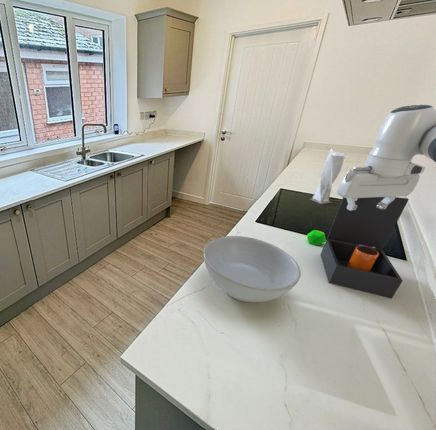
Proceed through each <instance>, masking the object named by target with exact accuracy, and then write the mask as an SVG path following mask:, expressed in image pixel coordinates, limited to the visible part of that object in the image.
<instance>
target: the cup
mask: <svg viewBox="0 0 436 430" xmlns="http://www.w3.org/2000/svg"><path fill="white" fill-rule="evenodd" d="M378 255H379V253H378V252H377V251H376V250H374V249H372V248H370V247H366V246H357V247H356V248H355V250H354V252H353V254H352V256H351V258H350V260H349V262H348V265H347V267H349V268H353V269H358V270H362V271H367V272H370V270H371V268H372V267H373V265H374V263H375V261H376V259H377V257H378Z"/></svg>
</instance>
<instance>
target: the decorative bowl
mask: <svg viewBox="0 0 436 430" xmlns="http://www.w3.org/2000/svg"><path fill="white" fill-rule="evenodd" d="M203 261H204V265H205V268H206V271H207V273H208V275H209V276H210V278H211V280H212V281H213V282H214V283H215V285H216V286H217V287H218V288H219V289H221V290H222V291H223V292H224V293H226V295H228V296H229V297H231V298H232V299H234V300H237V301H240V302H243V303H261V302H262V303H263V302H269V301H272V300H275V299H278V298H280V297H282V296H284V295H285V294H287V293H289V292H290V291H291V290H293V288H294V287H295V286H296V285H297V284H298V283H299V281H300V279H301V276H302V272H301V268H300V266H299V264H298V262H297V261H296V260H295V259H294V258H293V257H292V256H291V255H290V254H289V253H288V252H287V251H285V250H283V249H281V248H280V247H278V246H276V245H275V244H272V243H269V242H267V241H264V240H262V239H258V238H254V237H248V236H241V235H227V236H220V237H217V238H214V239H212V240H209V242H207V244H206V245H205V246H204V248H203Z"/></svg>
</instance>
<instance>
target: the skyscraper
mask: <svg viewBox="0 0 436 430" xmlns="http://www.w3.org/2000/svg"><path fill="white" fill-rule="evenodd" d="M345 157H346V155H345V152H342V153H341V152H339V151H337V152H336V151H334V150H333V147H331V148H330V150H329V153H328V155H327V157H326V159H325V161H324V164H323V167H322V169H321V173H320V179H319V184H318V186H317V188H316V190H315V192H314V193H313V196H312V198H309V200H310V201H312V202H314V203H317V204H320V205H327V204H331V203H332V201H331V200H330V198H331V197H330V196H331V194H332V193H331V192H332V187H333V184H334V183H335V181H336V180H337V178H338V177H339V175H340V173H341V170H342V167H343V165H344V161H345Z"/></svg>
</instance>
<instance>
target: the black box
mask: <svg viewBox="0 0 436 430" xmlns="http://www.w3.org/2000/svg"><path fill="white" fill-rule="evenodd" d="M357 246H361V245H359V244H355V243H349V242H344V241H339V240H333V239H328V238H326V242H324V244H323V248H322V249H321V252H320V259H321V261H322V266H323V269H324V272H325V275H326V278H327V279H326V280H327V282H328V284H331V285H335V286H339V287H343V288H346V289H347V288H348V289H351V290H355V291H360V292H363V293H368V294H372V295H376V296H379V297H384V298H388V299H393V298H394V296H395V294H396V292H397V291H398V289H399V288H400V286H401V284H402V283H403V278H402V276H400V274H399V273H398V270H397V269H396V267H394V265H393V263H392V262H391V260H390V259H389V258H388V256H387V254H386V253H385V252H384V250H383V249H382V248H376V247H375V248H372V249H374V250H376V251H377V252H378V253H379V255H378V257H377V259H376V261H375V263H374V265H373V267H372V268H371V270H370V272H367V271H362V270H358V269H353V268H349V267H347V265H348V262H349V260H350V258H351V256H352V254H353V252H354V250H355V248H356V247H357ZM370 248H371V247H370Z"/></svg>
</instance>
